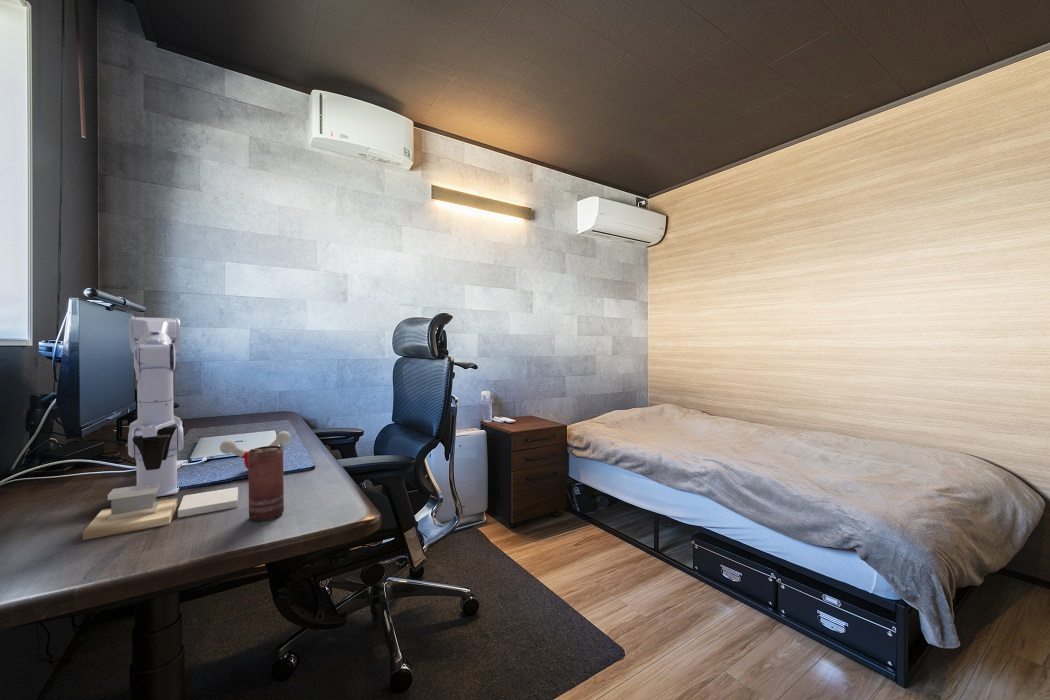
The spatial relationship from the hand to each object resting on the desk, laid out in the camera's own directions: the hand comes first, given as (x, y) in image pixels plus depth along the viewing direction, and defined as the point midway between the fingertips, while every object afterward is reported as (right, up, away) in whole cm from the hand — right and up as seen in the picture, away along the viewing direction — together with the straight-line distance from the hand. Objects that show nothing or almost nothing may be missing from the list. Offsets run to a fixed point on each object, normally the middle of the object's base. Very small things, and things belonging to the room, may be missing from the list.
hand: (156, 464), depth 89 cm
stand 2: (+9, -10, +4) cm, 14 cm away
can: (+25, -10, -2) cm, 27 cm away
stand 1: (0, -10, -5) cm, 11 cm away
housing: (0, -8, -5) cm, 10 cm away
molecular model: (+3, -10, +29) cm, 30 cm away
